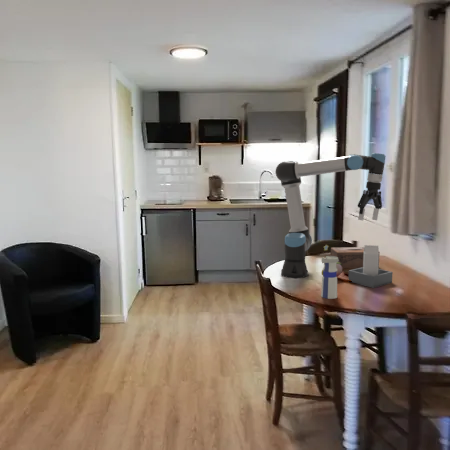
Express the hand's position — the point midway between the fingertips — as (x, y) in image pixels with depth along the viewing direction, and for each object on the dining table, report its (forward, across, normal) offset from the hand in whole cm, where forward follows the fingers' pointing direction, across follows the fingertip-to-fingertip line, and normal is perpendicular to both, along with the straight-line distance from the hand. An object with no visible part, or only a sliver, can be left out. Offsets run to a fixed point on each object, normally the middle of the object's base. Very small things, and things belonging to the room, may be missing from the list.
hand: (367, 220), depth 254 cm
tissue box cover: (+32, +20, +17) cm, 41 cm away
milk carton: (+31, -6, -12) cm, 34 cm away
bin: (+32, -6, -12) cm, 34 cm away
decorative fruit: (+34, -15, +6) cm, 38 cm away
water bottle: (+35, -43, -13) cm, 57 cm away
